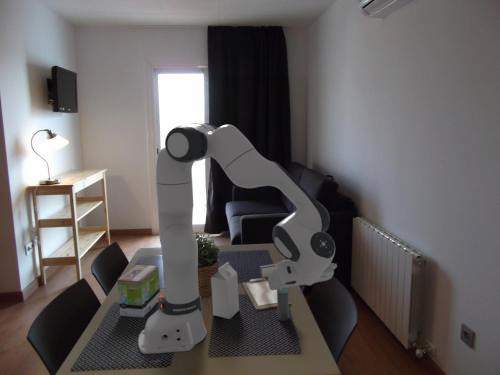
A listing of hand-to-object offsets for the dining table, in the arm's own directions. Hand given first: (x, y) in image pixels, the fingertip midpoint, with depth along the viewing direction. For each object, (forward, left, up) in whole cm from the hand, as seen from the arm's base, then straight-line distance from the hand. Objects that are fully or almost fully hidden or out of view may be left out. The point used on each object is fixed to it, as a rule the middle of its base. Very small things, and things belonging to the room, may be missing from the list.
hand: (295, 285), depth 123 cm
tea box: (-50, +37, -18) cm, 65 cm away
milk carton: (-19, +22, -18) cm, 34 cm away
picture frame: (+5, +46, -18) cm, 49 cm away
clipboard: (-1, +32, -18) cm, 37 cm away
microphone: (0, +12, -18) cm, 21 cm away
